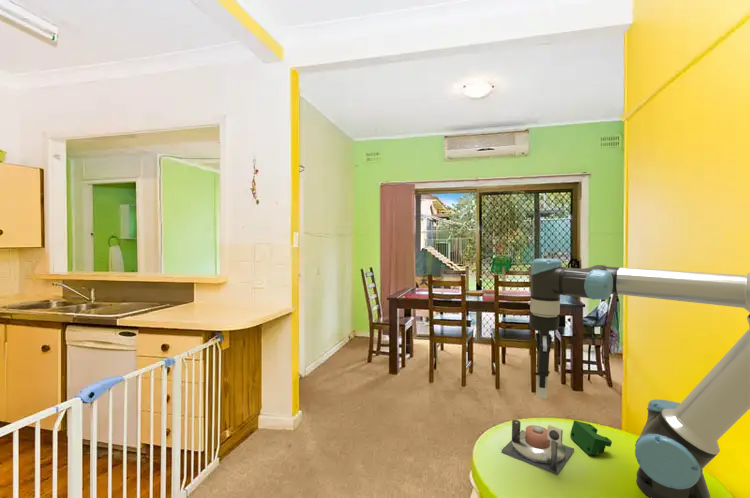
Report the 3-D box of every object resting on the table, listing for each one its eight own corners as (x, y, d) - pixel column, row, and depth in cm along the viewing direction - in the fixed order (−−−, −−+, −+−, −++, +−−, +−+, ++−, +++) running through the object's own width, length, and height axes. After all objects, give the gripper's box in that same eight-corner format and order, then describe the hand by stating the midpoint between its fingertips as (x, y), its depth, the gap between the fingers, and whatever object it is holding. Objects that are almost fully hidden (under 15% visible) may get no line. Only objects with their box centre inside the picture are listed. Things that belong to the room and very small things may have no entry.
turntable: (559, 439, 124) (560, 416, 123) (571, 467, 109) (572, 440, 109) (508, 433, 127) (509, 410, 127) (514, 459, 112) (515, 433, 112)
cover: (547, 437, 121) (548, 423, 121) (552, 450, 115) (552, 435, 114) (523, 434, 123) (524, 421, 123) (527, 446, 116) (527, 432, 116)
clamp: (601, 467, 118) (617, 448, 114) (583, 463, 117) (598, 443, 114) (584, 433, 129) (598, 415, 125) (567, 429, 128) (580, 410, 124)
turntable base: (575, 451, 118) (576, 412, 118) (558, 475, 107) (560, 432, 106) (521, 432, 129) (523, 396, 129) (501, 452, 117) (502, 413, 117)
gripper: (529, 308, 115) (526, 386, 116) (530, 317, 103) (527, 404, 104) (556, 310, 113) (553, 390, 114) (561, 320, 101) (558, 409, 102)
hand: (541, 397), depth 109 cm, fingers closed
